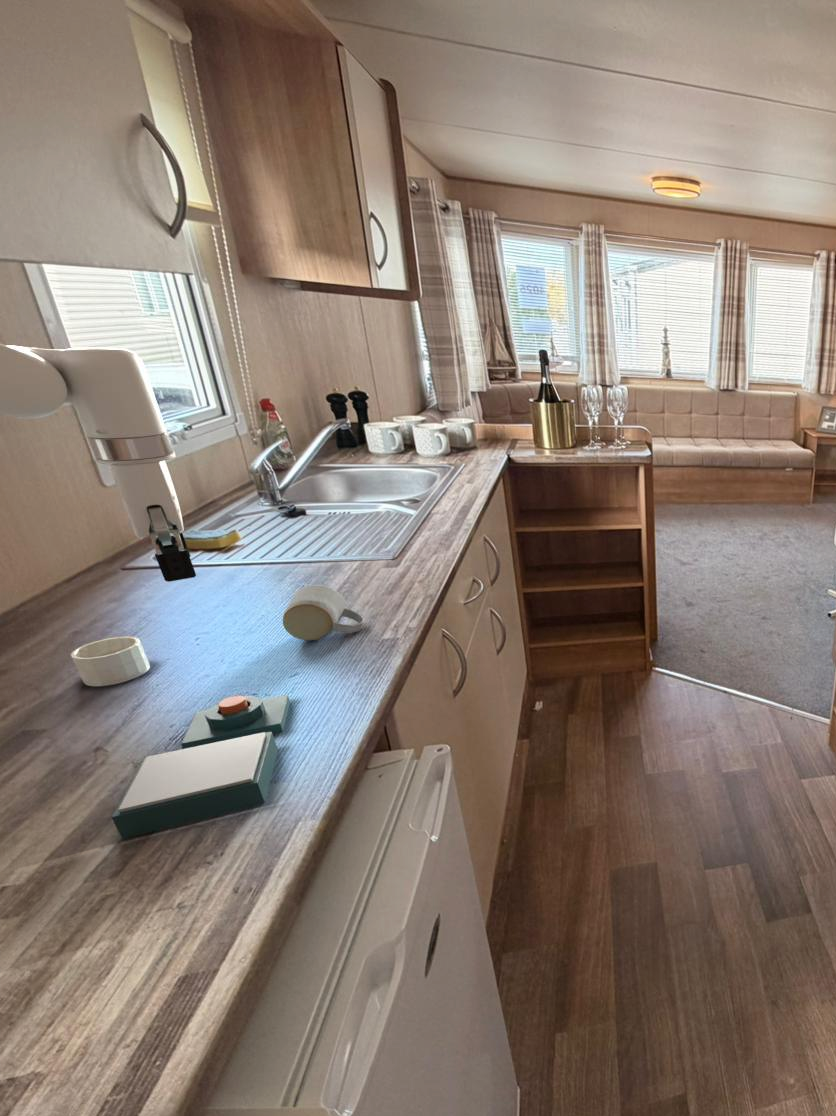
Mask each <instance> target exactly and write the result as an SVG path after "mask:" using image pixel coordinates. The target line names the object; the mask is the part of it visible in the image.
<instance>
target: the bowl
mask: <svg viewBox="0 0 836 1116" xmlns="http://www.w3.org/2000/svg"><path fill="white" fill-rule="evenodd" d="M70 657H71V659H72V661H73V664H74V665H75V667H76V669H77V672H78V674H79V676H80V678H81V680H82V683H83V684H84V685H86V686H89V687H106V686H107V687H108V686H113V685H117V684H118V685H119V684H122V683H125V682H129V681H131V680H134V679H137V678H139V677H141V676H143V675H144V674H146V673H147V672H148V671H149V670H150V669H151V664H150V661H149V659H148V657H147V654H146V652H145V649H144V647H143V644H142V642H141V641H140V639H139V637H134V636H115V637H108V638H104V639H100V640H95V641H93V642H90V643H87V644H84V645H81V646H80V647H77V648H76V649H74V650H73V651H71V652H70Z"/></svg>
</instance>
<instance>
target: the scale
mask: <svg viewBox="0 0 836 1116" xmlns="http://www.w3.org/2000/svg"><path fill="white" fill-rule="evenodd" d="M278 753H279V749H278V746H277V742H276V740H275V736H274V735H273V734H272V732H267V733H265V732H263V733H258V734H253V735H248V736H244V737H239V738H234V739H229V740H224V741H220V742H215V743H210V744H205V745H200V746H196V747H191V748H186V749H183V748H181V749H177V750H171V751H168V752H167V751H166V752H162V753H157V754H153V755H147V756H146V757H144V758H143V759H142V760H141V762H140V764H139V766H138V768H137V769H136V772H135V774H134V775H133V777H132V779H131V781H130V782H129V784H128V786H127V788H126V790H125V792H124V794H123V795H122V797H121V798H120V801H119V802H118V805H117V806H116V808H115V810H114V812H113V814H112V815H111V820H112V822H113V824H114V826H115V828H116V830H117V831H118V834H119V836H120V838H121V839H127V838H131V837H134V836H138V835H139V836H140V835H143V834H146V833H150V832H154V831H159V830H163V829H167V828H170V827H174V826H178V825H182V824H187V823H191V822H194V821H198V820H203V819H206V818H211V817H215V816H219V815H221V814H226V813H230V812H234V811H239V810H242V809H246V808H250V807H254V806H258V805H262V804H265V803H266V801H267V798H268V797H267V796H268V792H269V788H270V784H271V781H272V776H273V773H274V769H275V765H276V760H277V757H278Z"/></svg>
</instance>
